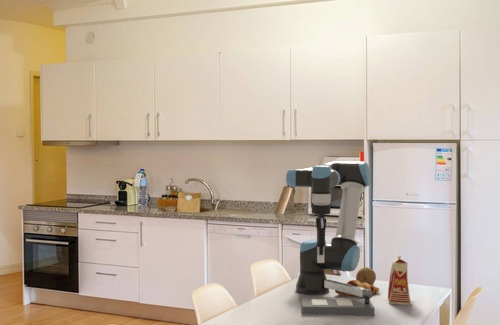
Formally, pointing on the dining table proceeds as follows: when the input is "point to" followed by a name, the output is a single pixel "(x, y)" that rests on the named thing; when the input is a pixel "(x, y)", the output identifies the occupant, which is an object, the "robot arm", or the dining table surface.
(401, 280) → the milk carton
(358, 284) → the croissant
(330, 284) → the swing arm
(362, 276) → the natural sponge
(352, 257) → the robot arm
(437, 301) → the dining table surface
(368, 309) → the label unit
